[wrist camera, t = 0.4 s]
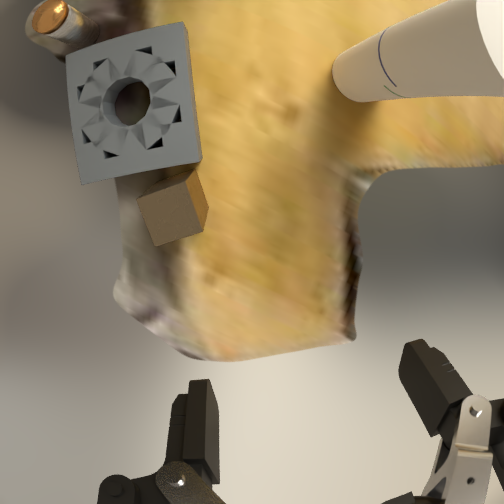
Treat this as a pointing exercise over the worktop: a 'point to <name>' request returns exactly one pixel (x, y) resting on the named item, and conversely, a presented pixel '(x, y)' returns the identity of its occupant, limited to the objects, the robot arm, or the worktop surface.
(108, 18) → the worktop surface
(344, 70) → the cylindrical container
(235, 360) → the worktop surface
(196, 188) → the square bit
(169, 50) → the socket block
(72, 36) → the cylinder
